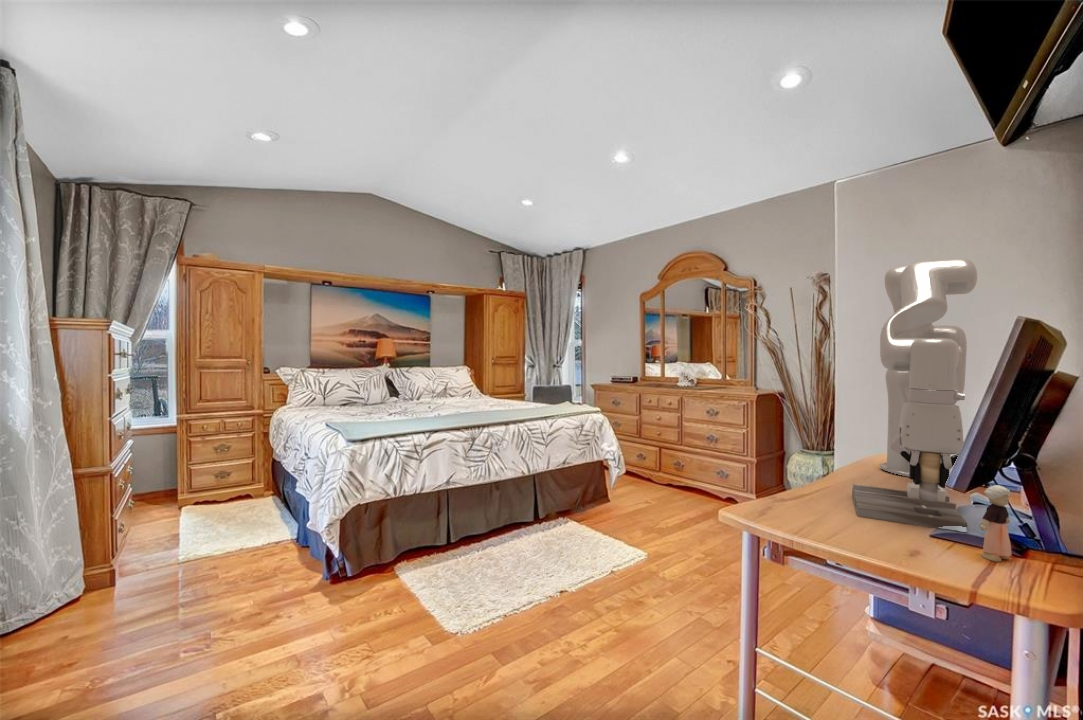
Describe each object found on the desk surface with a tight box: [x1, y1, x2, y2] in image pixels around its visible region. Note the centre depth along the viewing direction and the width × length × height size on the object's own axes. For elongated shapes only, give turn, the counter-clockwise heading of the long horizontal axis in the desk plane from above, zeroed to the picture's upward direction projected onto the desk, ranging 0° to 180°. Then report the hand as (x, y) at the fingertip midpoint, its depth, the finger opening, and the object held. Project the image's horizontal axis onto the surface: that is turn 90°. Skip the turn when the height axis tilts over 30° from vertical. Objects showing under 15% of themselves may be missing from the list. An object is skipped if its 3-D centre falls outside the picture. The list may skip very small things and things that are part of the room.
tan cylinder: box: [918, 452, 941, 502], centre depth 99 cm, size 4×4×10 cm
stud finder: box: [906, 482, 947, 502], centre depth 106 cm, size 4×6×3 cm, turn 60°
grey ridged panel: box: [851, 483, 968, 529], centre depth 105 cm, size 16×18×3 cm
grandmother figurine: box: [979, 484, 1013, 563], centre depth 83 cm, size 8×4×13 cm, turn 123°
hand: (928, 483), depth 99 cm, fingers closed on tan cylinder, 3 cm apart
